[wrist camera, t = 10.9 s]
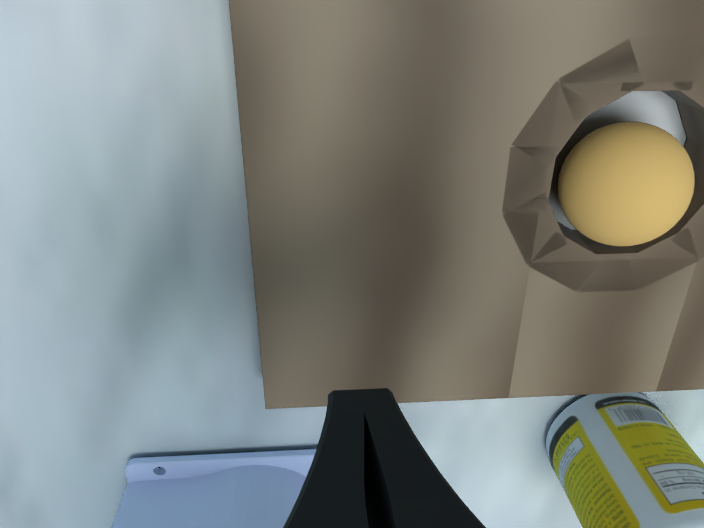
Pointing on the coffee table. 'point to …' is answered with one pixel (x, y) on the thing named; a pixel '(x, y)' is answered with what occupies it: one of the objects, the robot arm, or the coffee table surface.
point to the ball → (626, 183)
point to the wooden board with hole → (458, 198)
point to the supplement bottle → (625, 464)
